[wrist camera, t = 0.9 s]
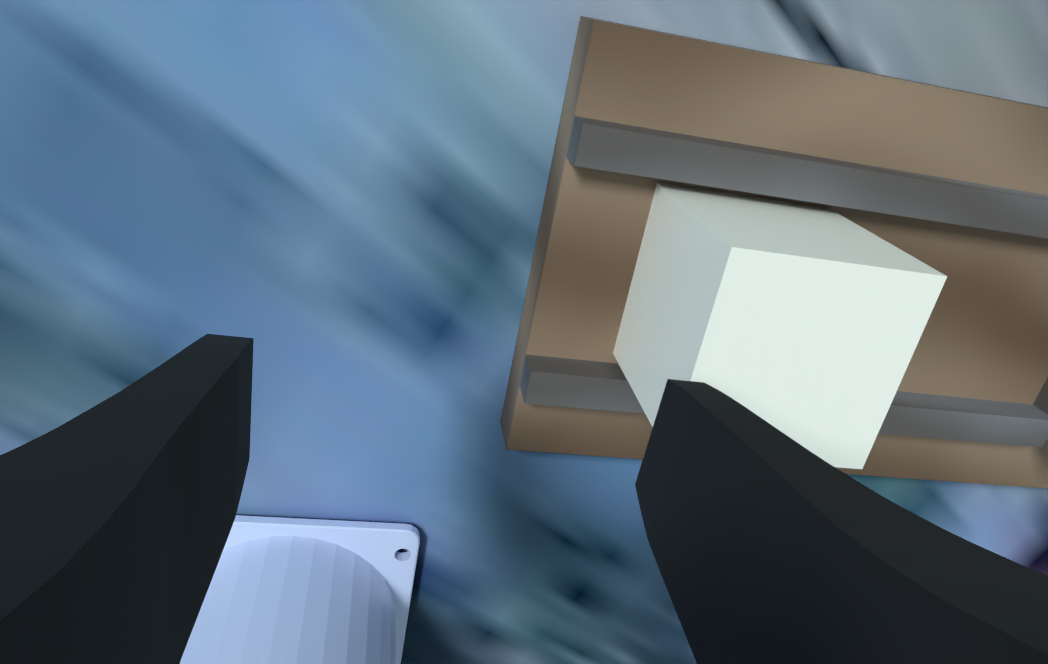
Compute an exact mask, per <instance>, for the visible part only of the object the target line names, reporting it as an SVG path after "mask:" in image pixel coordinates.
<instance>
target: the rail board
mask: <svg viewBox="0 0 1048 664" xmlns="http://www.w3.org/2000/svg"><path fill="white" fill-rule="evenodd" d="M657 182H658V183H665V184H671V185H678V186H684V187H691V188H697V189H704V190H710V191H717V192H724V193H730V194H737V195H743V196H750V197H756V198H763V199H770V200H776V201H783V202H789V203H796V204H802V205H809V206H816V207H822V208H829V209H831V210H833V211H835V212H836V213H838V214H840V215H841V216H843V217H845V218H847V219H848V220H850V221H852V222H854V223H855V224H857V225H859V226H861V227H862V228H864V229H866V230H868V231H869V232H871V233H873V234H875V235H876V236H878V237H880V238H881V239H883V240H885V241H887V242H888V243H890V244H892V245H894V246H895V247H897V248H899V249H901V250H902V251H904V252H906V253H908V254H909V255H911V256H913V257H914V258H916V259H918V260H920V261H921V262H923V263H925V264H927V265H928V266H930V267H932V268H934V269H935V270H937V271H939V272H941V273H942V274H944V275H946V276H947V278H946V281H945V283H944V285H943V288H942V290H941V292H940V294H939V297H938V299H937V301H936V303H935V306H934V308H933V310H932V312H931V315H930V317H929V319H928V321H927V324H926V326H925V328H924V331H923V333H922V335H921V337H920V340H919V342H918V344H917V346H916V349H915V351H914V353H913V355H912V358H911V360H910V362H909V364H908V367H907V369H906V371H905V374H904V376H903V378H902V380H901V383H900V385H899V387H898V389H897V392H896V394H895V396H894V398H893V401H892V403H891V405H890V408H889V410H888V412H887V414H886V417H885V419H884V421H883V423H882V426H881V428H880V430H879V432H878V435H877V437H876V439H875V441H874V444H873V446H872V448H871V451H870V453H869V455H868V457H867V460H866V462H865V464H864V466H863V469H851V468H838V467H835V468H837V469H838V470H840V471H841V472H843V473H845V474H856V475H870V476H884V477H898V478H912V479H925V480H939V481H953V482H967V483H981V484H995V485H1009V486H1023V487H1037V488H1048V108H1047V107H1042V106H1037V105H1032V104H1026V103H1021V102H1016V101H1011V100H1006V99H1001V98H996V97H991V96H986V95H981V94H975V93H970V92H965V91H960V90H955V89H950V88H945V87H940V86H935V85H930V84H924V83H919V82H914V81H909V80H904V79H899V78H894V77H889V76H884V75H879V74H873V73H868V72H863V71H858V70H853V69H848V68H843V67H838V66H833V65H828V64H822V63H817V62H812V61H807V60H802V59H797V58H792V57H787V56H782V55H777V54H771V53H766V52H761V51H756V50H751V49H746V48H741V47H736V46H731V45H726V44H720V43H715V42H710V41H705V40H700V39H695V38H690V37H685V36H680V35H675V34H669V33H664V32H659V31H654V30H649V29H644V28H639V27H634V26H629V25H623V24H618V23H613V22H608V21H603V20H598V19H593V18H588V17H583V16H581V17H580V22H579V27H578V32H577V37H576V42H575V47H574V53H573V58H572V63H571V68H570V73H569V78H568V83H567V88H566V93H565V98H564V103H563V108H562V113H561V118H560V124H559V129H558V134H557V139H556V144H555V149H554V154H553V159H552V164H551V169H550V174H549V179H548V184H547V189H546V194H545V200H544V205H543V210H542V215H541V220H540V225H539V230H538V235H537V240H536V245H535V250H534V255H533V260H532V265H531V270H530V276H529V281H528V286H527V291H526V296H525V301H524V306H523V311H522V316H521V321H520V326H519V331H518V336H517V341H516V346H515V352H514V357H513V362H512V367H511V372H510V377H509V382H508V387H507V392H506V397H505V402H504V407H503V412H502V417H501V427H502V431H503V436H504V441H505V445H506V449H509V450H522V451H536V452H550V453H564V454H578V455H592V456H606V457H620V458H634V459H643V458H644V454H645V451H646V448H647V445H648V441H649V438H650V435H651V432H652V428H653V427H652V425H651V424H650V422H649V420H648V418H647V416H646V414H645V412H644V410H643V409H642V407H641V405H640V403H639V401H638V399H637V397H636V396H635V394H634V392H633V390H632V388H631V386H630V384H629V382H628V381H627V379H626V377H625V375H624V373H623V371H622V369H621V368H620V366H619V364H618V362H617V360H616V358H615V356H614V355H613V351H614V347H615V344H616V340H617V336H618V332H619V328H620V324H621V320H622V316H623V312H624V309H625V305H626V301H627V297H628V293H629V289H630V285H631V281H632V278H633V274H634V270H635V266H636V262H637V258H638V254H639V250H640V247H641V243H642V239H643V235H644V231H645V227H646V223H647V219H648V216H649V212H650V208H651V204H652V200H653V196H654V192H655V188H656V184H657Z"/></svg>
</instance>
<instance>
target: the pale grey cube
mask: <svg viewBox="0 0 1048 664" xmlns="http://www.w3.org/2000/svg"><path fill="white" fill-rule="evenodd" d="M946 278H947V276H946V275H944V274H942V273H941V272H939V271H937V270H935V269H934V268H932V267H930V266H928V265H927V264H925V263H923V262H921V261H920V260H918V259H916V258H914V257H913V256H911V255H909V254H908V253H906V252H904V251H902V250H901V249H899V248H897V247H895V246H894V245H892V244H890V243H888V242H887V241H885V240H883V239H881V238H880V237H878V236H876V235H875V234H873V233H871V232H869V231H868V230H866V229H864V228H862V227H861V226H859V225H857V224H855V223H854V222H852V221H850V220H848V219H847V218H845V217H843V216H841V215H840V214H838V213H836V212H835V211H833V210H831V209H829V208H822V207H816V206H809V205H802V204H796V203H789V202H783V201H776V200H770V199H763V198H756V197H750V196H743V195H737V194H730V193H724V192H717V191H710V190H704V189H697V188H691V187H684V186H678V185H671V184H665V183H658V182H657V184H656V188H655V192H654V196H653V200H652V204H651V208H650V212H649V216H648V219H647V223H646V227H645V231H644V235H643V239H642V243H641V247H640V250H639V254H638V258H637V262H636V266H635V270H634V274H633V278H632V281H631V285H630V289H629V293H628V297H627V301H626V305H625V309H624V312H623V316H622V320H621V324H620V328H619V332H618V336H617V340H616V344H615V347H614V351H613V355H614V356H615V358H616V360H617V362H618V364H619V366H620V368H621V369H622V371H623V373H624V375H625V377H626V379H627V381H628V382H629V384H630V386H631V388H632V390H633V392H634V394H635V396H636V397H637V399H638V401H639V403H640V405H641V407H642V409H643V410H644V412H645V414H646V416H647V418H648V420H649V422H650V424H651V425H652V427H653V425H654V422H655V418H656V415H657V412H658V409H659V405H660V402H661V399H662V396H663V392H664V389H665V386H666V383H667V379H673V380H683V381H693V382H704V383H706V384H708V385H710V386H712V387H714V388H716V389H717V390H719V391H721V392H723V393H724V394H726V395H727V396H729V397H731V398H732V399H734V400H735V401H737V402H738V403H740V404H741V405H743V406H744V407H746V408H747V409H749V410H750V411H752V412H753V413H755V414H756V415H758V416H759V417H761V418H762V419H763V420H765V421H766V422H768V423H769V424H771V425H772V426H774V427H775V428H777V429H778V430H779V431H781V432H782V433H784V434H785V435H787V436H788V437H790V438H791V439H793V440H794V441H796V442H797V443H799V444H800V445H802V446H803V447H804V448H806V449H807V450H809V451H810V452H812V453H813V454H815V455H817V456H818V457H820V458H821V459H823V460H824V461H826V462H827V463H829V464H830V465H832V466H833V467H838V468H851V469H863V466H864V464H865V462H866V460H867V457H868V455H869V453H870V451H871V448H872V446H873V444H874V441H875V439H876V437H877V435H878V432H879V430H880V428H881V426H882V423H883V421H884V419H885V417H886V414H887V412H888V410H889V408H890V405H891V403H892V401H893V398H894V396H895V394H896V392H897V389H898V387H899V385H900V383H901V380H902V378H903V376H904V374H905V371H906V369H907V367H908V364H909V362H910V360H911V358H912V355H913V353H914V351H915V349H916V346H917V344H918V342H919V340H920V337H921V335H922V333H923V331H924V328H925V326H926V324H927V321H928V319H929V317H930V315H931V312H932V310H933V308H934V306H935V303H936V301H937V299H938V297H939V294H940V292H941V290H942V288H943V285H944V283H945V281H946Z"/></svg>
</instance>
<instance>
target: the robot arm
mask: <svg viewBox="0 0 1048 664" xmlns="http://www.w3.org/2000/svg"><path fill="white" fill-rule="evenodd" d="M252 363H253V338H244V337H233V336H223V335H213V334H207V335H205V336H203V337H202V338H200V339H198V340H197V341H195V342H194V343H192V344H191V345H189V346H188V347H186V348H185V349H184V350H182V351H181V352H179V353H178V354H176V355H175V356H173V357H172V358H170V359H169V360H168V361H166V362H165V363H163V364H162V365H160V366H159V367H157V368H156V369H154V370H153V371H151V372H149V373H148V374H146V375H145V376H143V377H142V378H140V379H139V380H137V381H136V382H134V383H133V384H131V385H130V386H128V387H126V388H125V389H123V390H122V391H120V392H119V393H117V394H115V395H114V396H112V397H110V398H108V399H107V400H105V401H103V402H101V403H100V404H98V405H96V406H94V407H93V408H91V409H89V410H87V411H86V412H84V413H82V414H80V415H79V416H77V417H75V418H74V419H72V420H70V421H68V422H67V423H65V424H63V425H61V426H60V427H58V428H56V429H54V430H52V431H50V432H48V433H46V434H44V435H42V436H40V437H38V438H36V439H34V440H32V441H30V442H28V443H26V444H24V445H22V446H20V447H18V448H16V449H14V450H11V451H9V452H7V453H5V454H2V455H0V664H401V658H402V652H403V645H404V639H405V633H406V626H407V620H408V614H409V607H410V601H411V595H412V588H413V582H414V576H415V569H416V563H417V557H418V550H419V544H420V536H419V531H418V530H417V528H416V527H414V526H413V525H409V524H400V523H380V522H360V521H340V520H320V519H300V518H280V517H260V516H240V515H236V513H237V508H238V504H239V500H240V496H241V492H242V488H243V484H244V479H245V475H246V471H247V466H248V462H249V452H250V423H251V393H252ZM635 485H636V490H637V495H638V499H639V504H640V509H641V513H642V517H643V521H644V525H645V529H646V533H647V537H648V541H649V543H650V546H651V549H652V551H653V554H654V557H655V559H656V562H657V564H658V567H659V569H660V572H661V575H662V577H663V580H664V582H665V585H666V587H667V590H668V592H669V595H670V597H671V600H672V602H673V605H674V607H675V610H676V612H677V615H678V617H679V620H680V622H681V625H682V627H683V629H684V632H685V634H686V637H687V639H688V642H689V644H690V647H691V649H692V652H693V654H694V657H695V659H696V662H697V664H1048V576H1047V575H1044V574H1042V573H1039V572H1037V571H1035V570H1032V569H1030V568H1027V567H1025V566H1022V565H1020V564H1018V563H1016V562H1013V561H1011V560H1009V559H1007V558H1005V557H1002V556H1000V555H998V554H996V553H993V552H991V551H989V550H987V549H984V548H982V547H980V546H978V545H975V544H973V543H971V542H969V541H967V540H965V539H963V538H961V537H959V536H956V535H954V534H952V533H950V532H948V531H946V530H944V529H942V528H940V527H938V526H936V525H935V524H933V523H931V522H929V521H927V520H925V519H923V518H921V517H919V516H918V515H916V514H914V513H912V512H910V511H908V510H906V509H904V508H902V507H901V506H899V505H897V504H895V503H893V502H891V501H890V500H888V499H886V498H884V497H883V496H881V495H879V494H877V493H876V492H874V491H872V490H871V489H869V488H867V487H866V486H864V485H863V484H861V483H859V482H858V481H856V480H854V479H853V478H851V477H850V476H848V475H846V474H845V473H843V472H841V471H840V470H838V469H837V468H835V467H833V466H832V465H830V464H829V463H827V462H826V461H824V460H823V459H821V458H820V457H818V456H817V455H815V454H813V453H812V452H810V451H809V450H807V449H806V448H804V447H803V446H802V445H800V444H799V443H797V442H796V441H794V440H793V439H791V438H790V437H788V436H787V435H785V434H784V433H782V432H781V431H779V430H778V429H777V428H775V427H774V426H772V425H771V424H769V423H768V422H766V421H765V420H763V419H762V418H761V417H759V416H758V415H756V414H755V413H753V412H752V411H750V410H749V409H747V408H746V407H744V406H743V405H741V404H740V403H738V402H737V401H735V400H734V399H732V398H731V397H729V396H727V395H726V394H724V393H723V392H721V391H719V390H717V389H716V388H714V387H712V386H710V385H708V384H706V383H704V382H693V381H683V380H673V379H667V383H666V386H665V389H664V392H663V396H662V399H661V402H660V405H659V409H658V412H657V415H656V418H655V422H654V425H653V428H652V432H651V435H650V438H649V441H648V445H647V448H646V451H645V454H644V458H643V461H642V464H641V467H640V471H639V474H638V477H637V480H636V484H635ZM399 549H407V550H408V551H407V552H404V553H400V552H397V550H399Z"/></svg>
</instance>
